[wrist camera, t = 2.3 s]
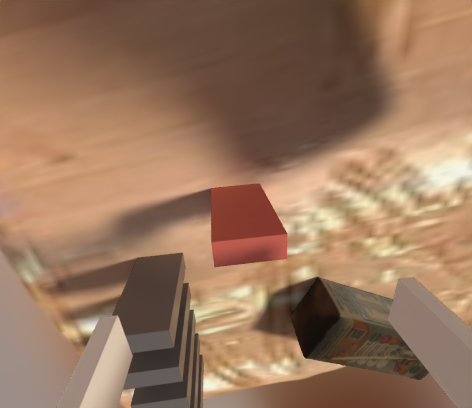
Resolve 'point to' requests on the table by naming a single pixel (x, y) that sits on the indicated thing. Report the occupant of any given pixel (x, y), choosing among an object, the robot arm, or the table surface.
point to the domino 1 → (152, 302)
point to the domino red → (245, 226)
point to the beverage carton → (352, 330)
